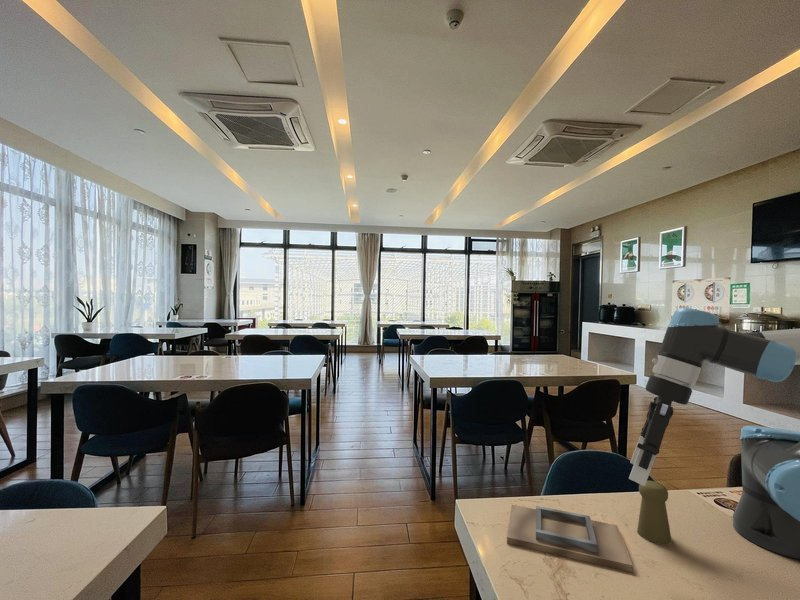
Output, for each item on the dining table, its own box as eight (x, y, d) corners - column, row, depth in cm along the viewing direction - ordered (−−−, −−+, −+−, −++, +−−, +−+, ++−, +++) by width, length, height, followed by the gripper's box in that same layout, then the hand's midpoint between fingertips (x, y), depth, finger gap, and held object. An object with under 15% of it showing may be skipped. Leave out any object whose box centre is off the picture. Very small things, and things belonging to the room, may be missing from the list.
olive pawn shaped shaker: (678, 546, 73) (676, 491, 74) (644, 542, 74) (643, 487, 75) (662, 529, 79) (661, 478, 80) (632, 526, 80) (631, 475, 81)
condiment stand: (617, 530, 78) (617, 517, 79) (632, 572, 65) (632, 556, 66) (511, 509, 86) (511, 498, 86) (506, 543, 73) (506, 529, 73)
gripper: (649, 371, 88) (619, 452, 89) (652, 375, 68) (614, 479, 69) (686, 384, 84) (655, 468, 85) (702, 392, 64) (660, 502, 65)
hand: (636, 473), depth 77 cm, fingers open, 13 cm apart
